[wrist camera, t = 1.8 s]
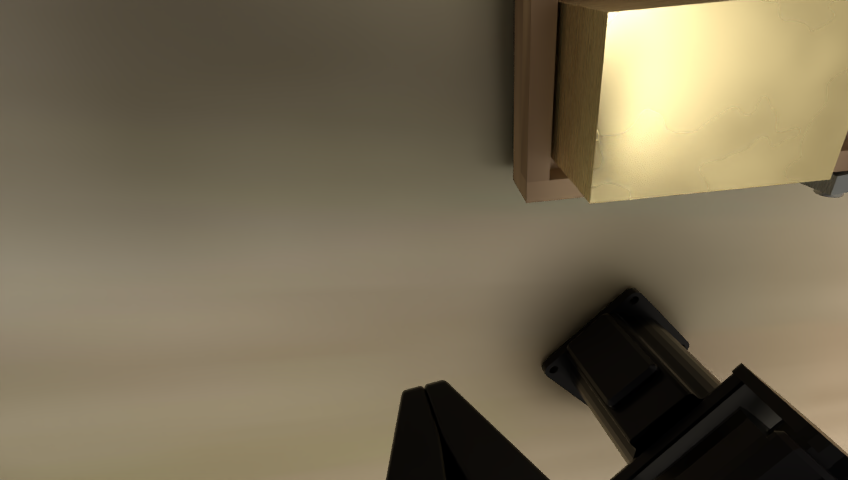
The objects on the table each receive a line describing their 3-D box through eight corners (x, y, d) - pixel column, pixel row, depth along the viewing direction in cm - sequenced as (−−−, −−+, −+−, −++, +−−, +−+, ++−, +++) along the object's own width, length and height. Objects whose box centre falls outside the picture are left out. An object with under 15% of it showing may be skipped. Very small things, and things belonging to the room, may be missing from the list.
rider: (771, -21, 16) (899, -16, 12) (734, 132, 18) (830, 179, 14) (553, 0, 15) (608, 12, 12) (546, 151, 18) (589, 203, 14)
